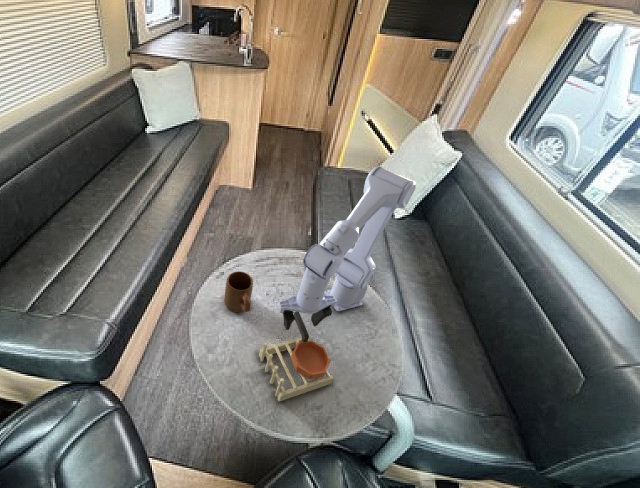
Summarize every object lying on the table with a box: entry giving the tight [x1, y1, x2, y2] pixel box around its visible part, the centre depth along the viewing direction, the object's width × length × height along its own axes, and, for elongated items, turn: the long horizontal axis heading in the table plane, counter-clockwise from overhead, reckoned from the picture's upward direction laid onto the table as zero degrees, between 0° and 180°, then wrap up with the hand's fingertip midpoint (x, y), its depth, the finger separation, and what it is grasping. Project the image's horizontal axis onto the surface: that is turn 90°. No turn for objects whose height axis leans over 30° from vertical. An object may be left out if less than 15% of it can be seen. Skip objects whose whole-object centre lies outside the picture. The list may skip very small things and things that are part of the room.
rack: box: [258, 336, 334, 403], centre depth 78 cm, size 14×12×7 cm
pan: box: [290, 311, 331, 380], centre depth 80 cm, size 16×9×4 cm, turn 12°
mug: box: [223, 271, 254, 313], centre depth 90 cm, size 12×8×9 cm, turn 17°
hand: (299, 324), depth 83 cm, fingers open, 7 cm apart
